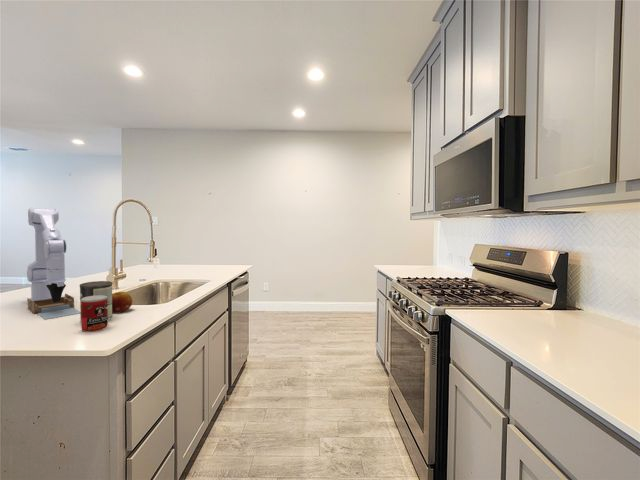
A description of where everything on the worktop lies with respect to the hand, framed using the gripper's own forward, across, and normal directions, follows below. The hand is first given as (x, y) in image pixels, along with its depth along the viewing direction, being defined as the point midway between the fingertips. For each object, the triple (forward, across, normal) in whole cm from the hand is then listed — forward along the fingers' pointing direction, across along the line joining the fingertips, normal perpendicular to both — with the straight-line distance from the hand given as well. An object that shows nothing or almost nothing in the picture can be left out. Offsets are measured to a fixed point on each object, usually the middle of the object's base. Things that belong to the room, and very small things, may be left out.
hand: (56, 301), depth 129 cm
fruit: (+5, +18, +17) cm, 25 cm away
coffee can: (+5, +24, +7) cm, 25 cm away
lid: (+5, +4, 0) cm, 6 cm away
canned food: (+5, +35, +3) cm, 35 cm away
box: (+4, -8, 0) cm, 9 cm away
